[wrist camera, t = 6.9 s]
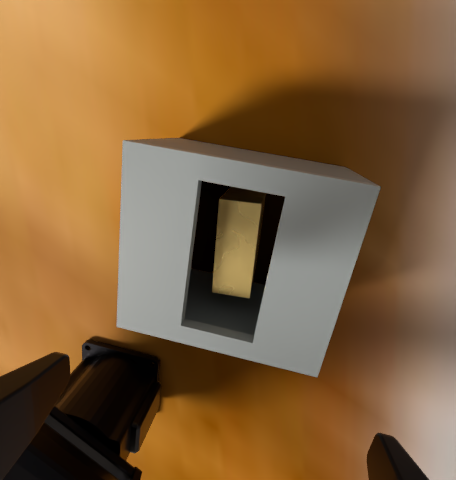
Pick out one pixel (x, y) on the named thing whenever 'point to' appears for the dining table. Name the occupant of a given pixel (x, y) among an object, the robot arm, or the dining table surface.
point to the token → (237, 241)
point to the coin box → (282, 261)
